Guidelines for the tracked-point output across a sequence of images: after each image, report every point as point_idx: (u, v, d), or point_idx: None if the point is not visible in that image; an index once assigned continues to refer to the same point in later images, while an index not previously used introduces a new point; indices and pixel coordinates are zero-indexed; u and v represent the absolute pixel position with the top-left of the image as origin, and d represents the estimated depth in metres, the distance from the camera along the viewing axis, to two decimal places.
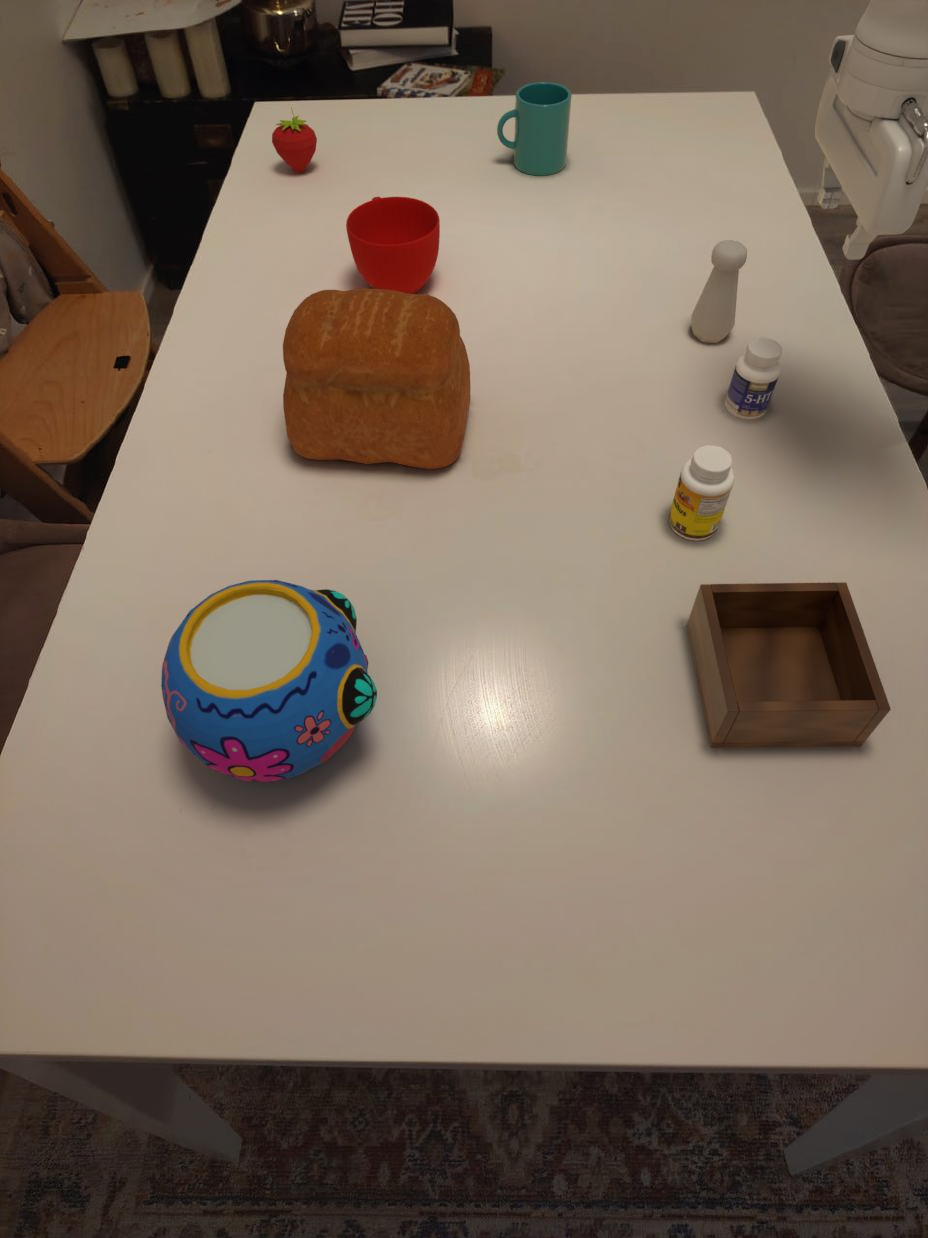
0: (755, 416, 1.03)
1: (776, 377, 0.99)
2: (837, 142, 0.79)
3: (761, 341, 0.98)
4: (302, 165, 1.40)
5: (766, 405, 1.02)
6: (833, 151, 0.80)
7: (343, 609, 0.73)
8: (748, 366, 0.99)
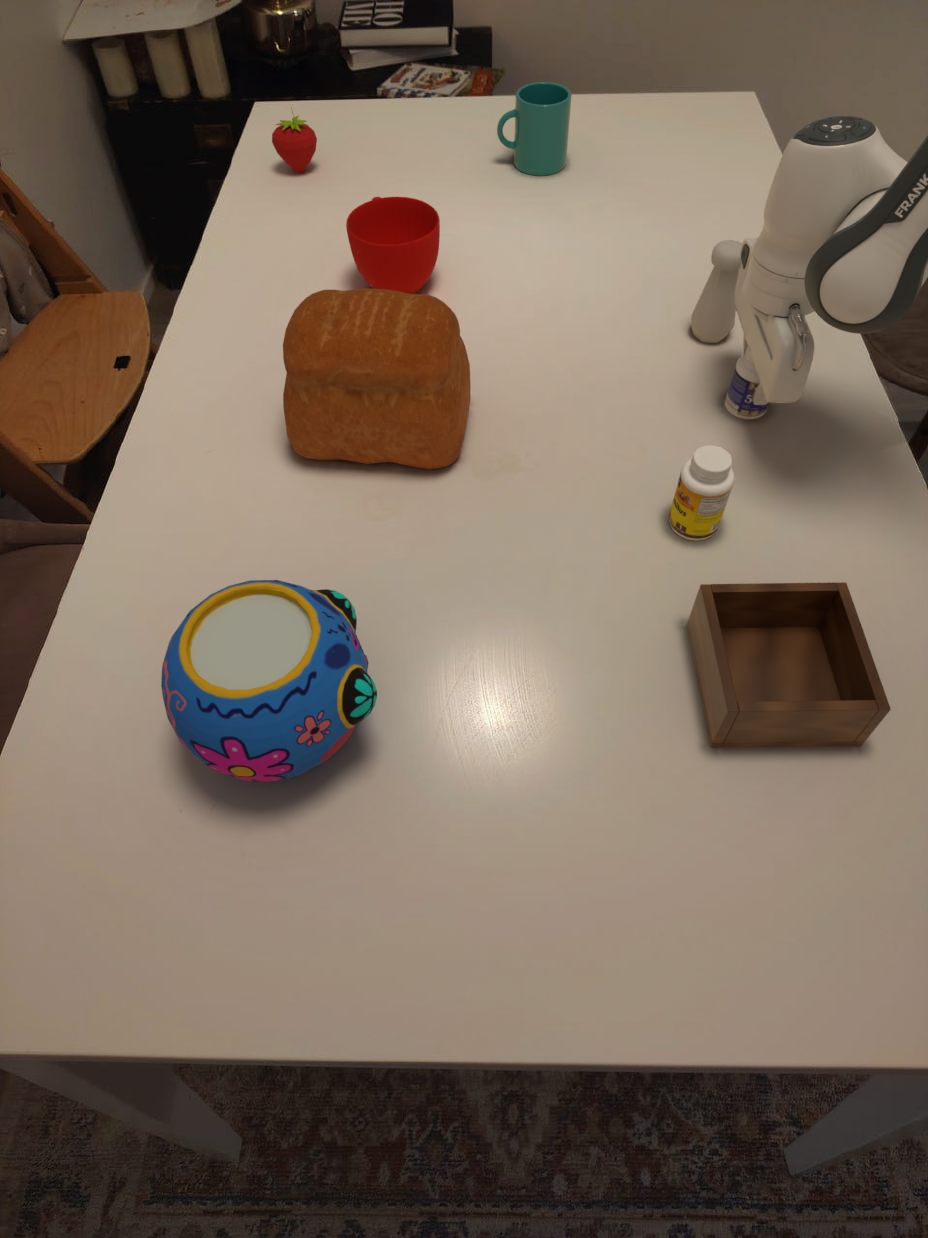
0: (755, 416, 1.03)
1: None
2: (748, 318, 0.98)
3: None
4: (302, 165, 1.40)
5: (766, 405, 1.02)
6: (746, 325, 0.99)
7: (343, 609, 0.73)
8: (748, 366, 0.99)
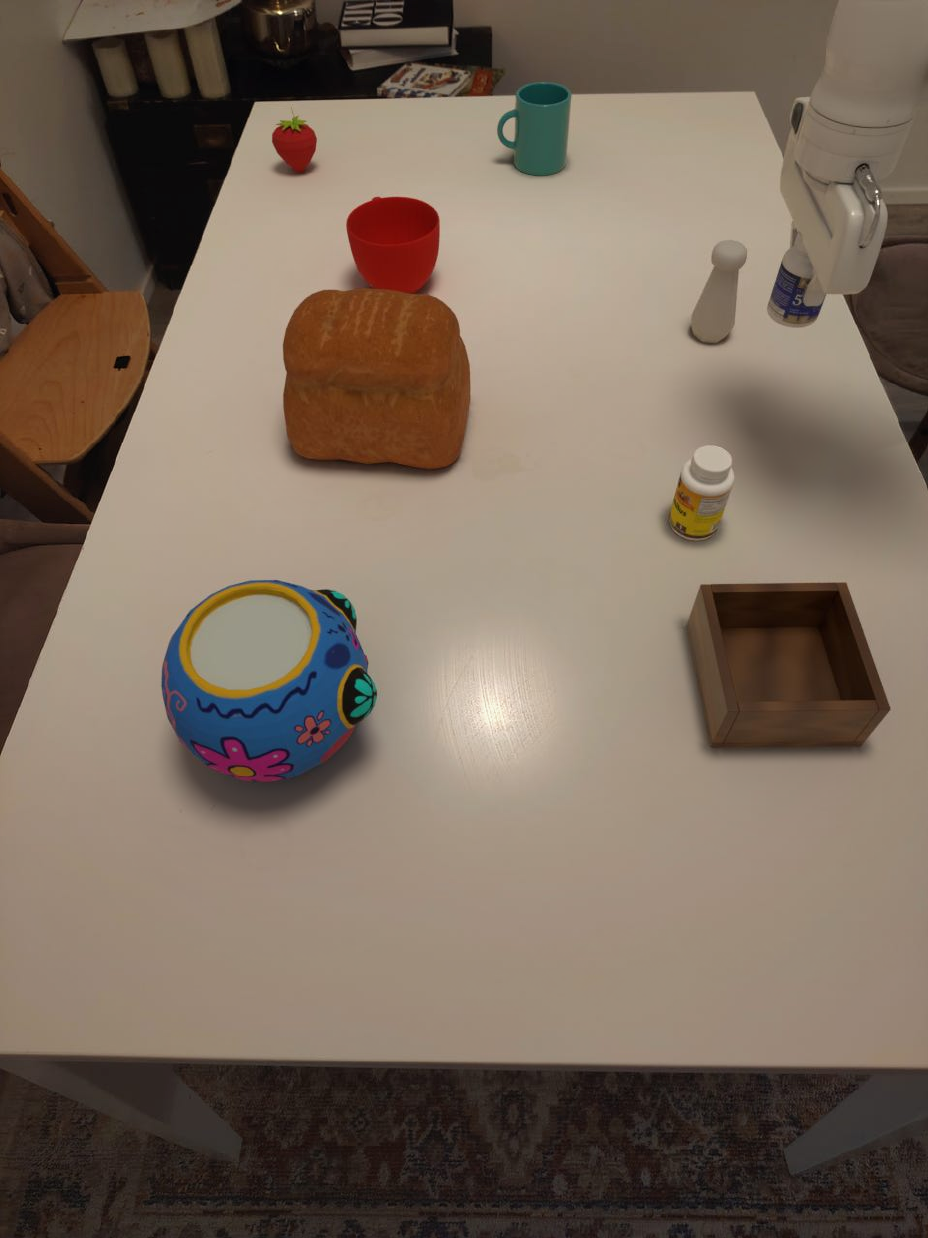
0: (804, 323, 0.85)
1: None
2: (799, 199, 0.81)
3: None
4: (302, 165, 1.40)
5: (818, 309, 0.85)
6: (795, 208, 0.81)
7: (343, 609, 0.73)
8: (797, 258, 0.81)
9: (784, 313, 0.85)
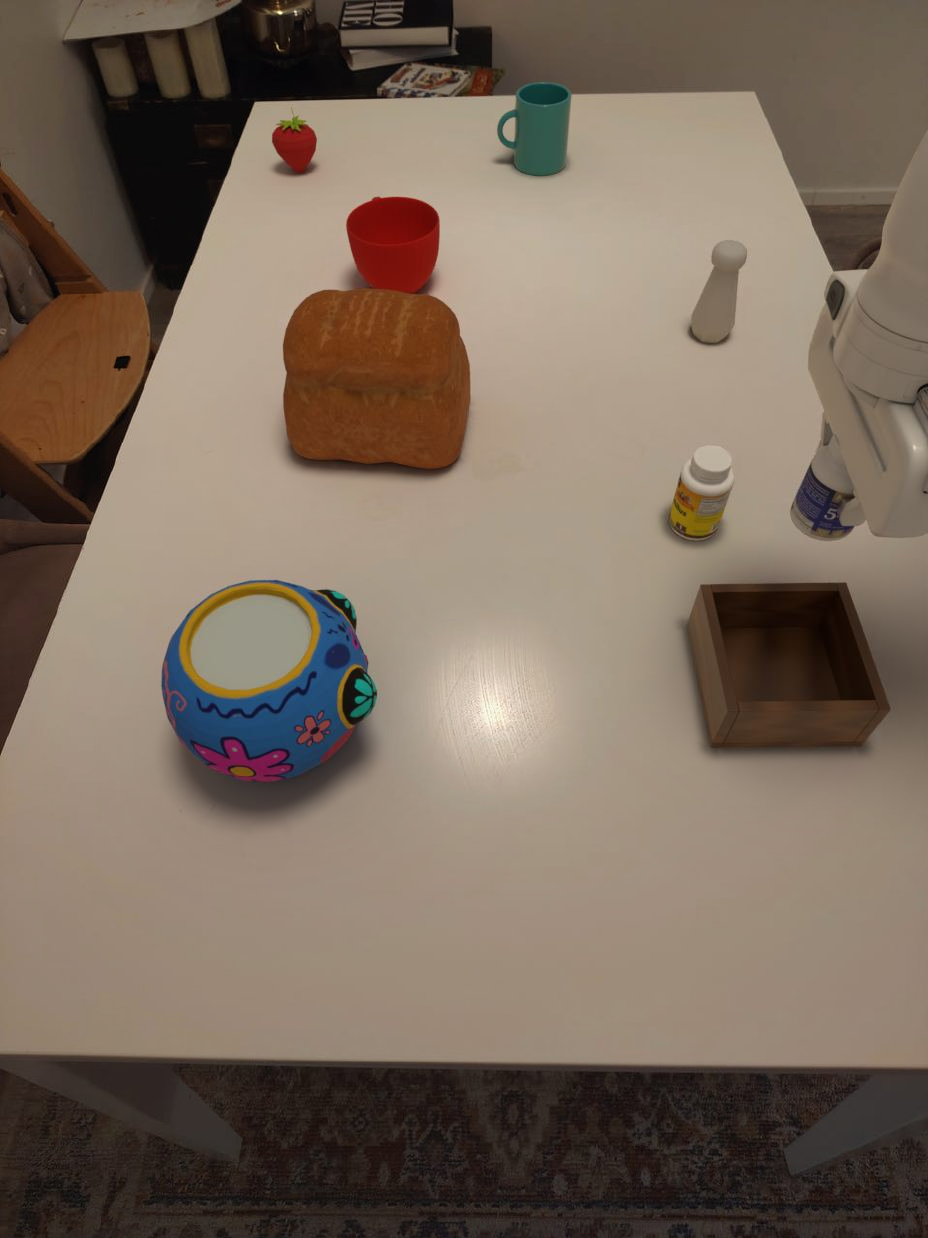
0: (838, 537, 0.68)
1: None
2: (835, 394, 0.63)
3: None
4: (302, 165, 1.40)
5: None
6: (830, 403, 0.64)
7: (343, 609, 0.73)
8: (832, 467, 0.64)
9: (813, 525, 0.67)
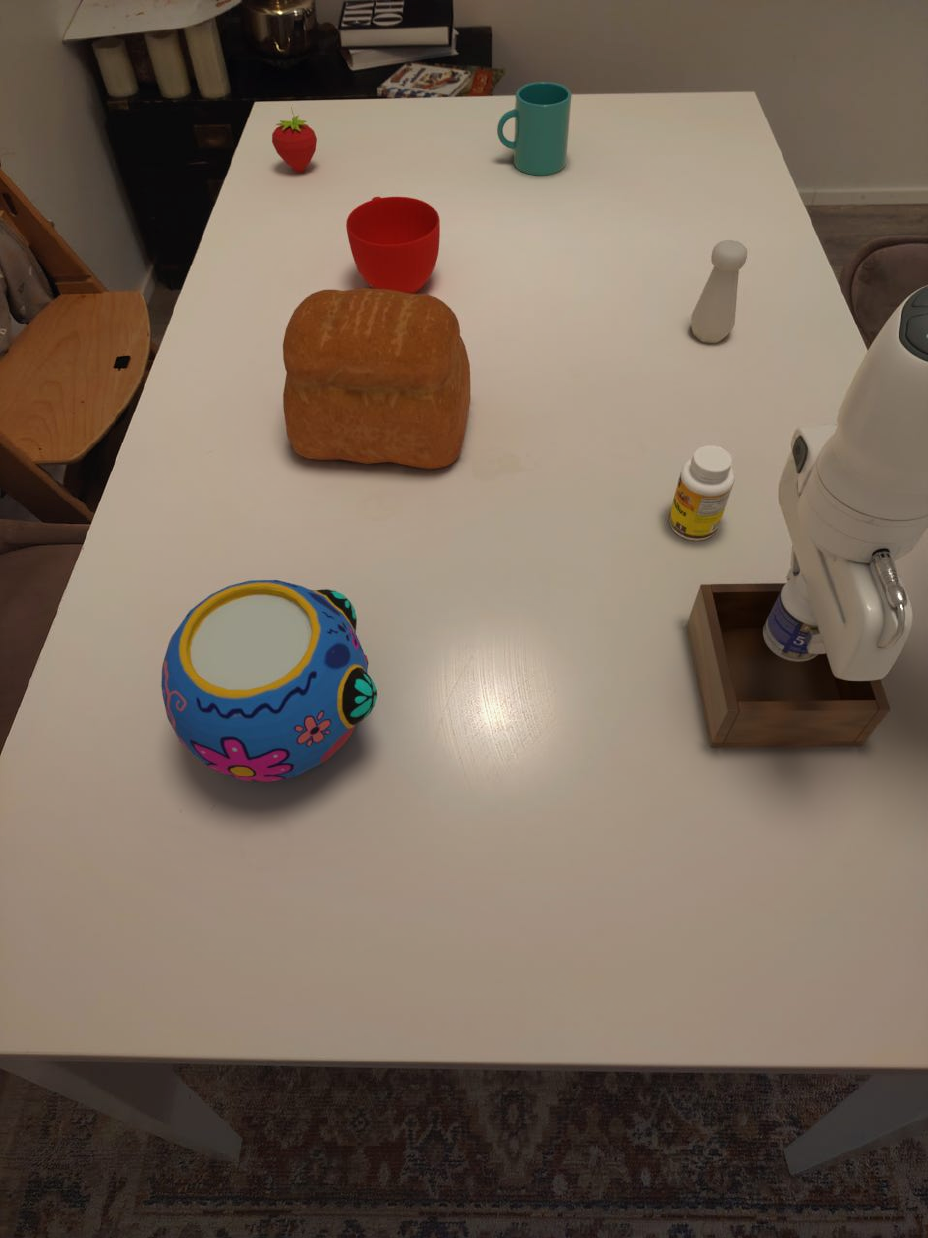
0: (807, 659, 0.73)
1: None
2: (801, 534, 0.68)
3: None
4: (302, 165, 1.40)
5: None
6: (798, 542, 0.69)
7: (343, 609, 0.73)
8: (799, 601, 0.69)
9: (783, 648, 0.72)
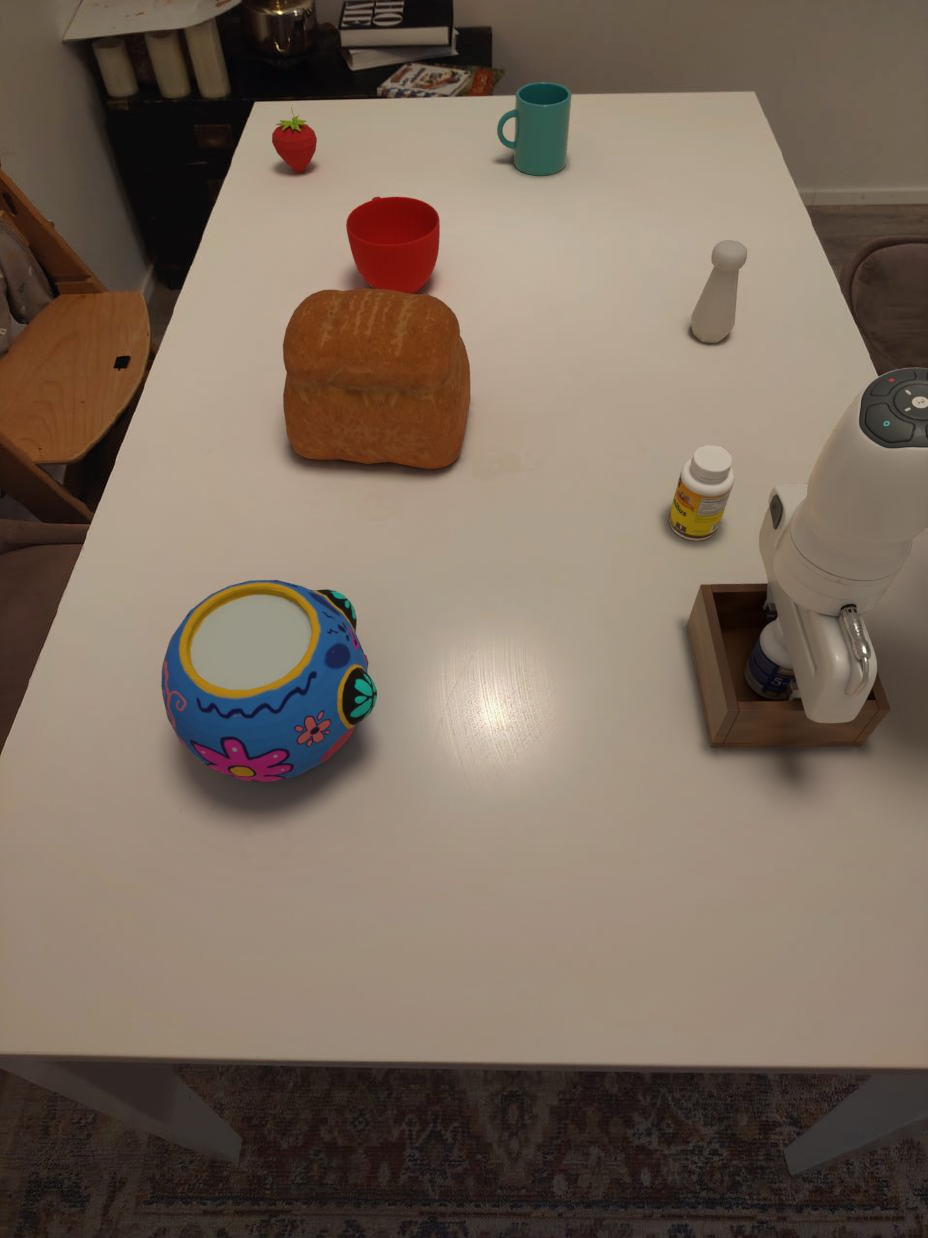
0: (785, 697, 0.78)
1: None
2: (779, 583, 0.73)
3: None
4: (302, 165, 1.40)
5: None
6: (776, 589, 0.74)
7: (343, 609, 0.73)
8: (776, 646, 0.74)
9: (762, 688, 0.78)
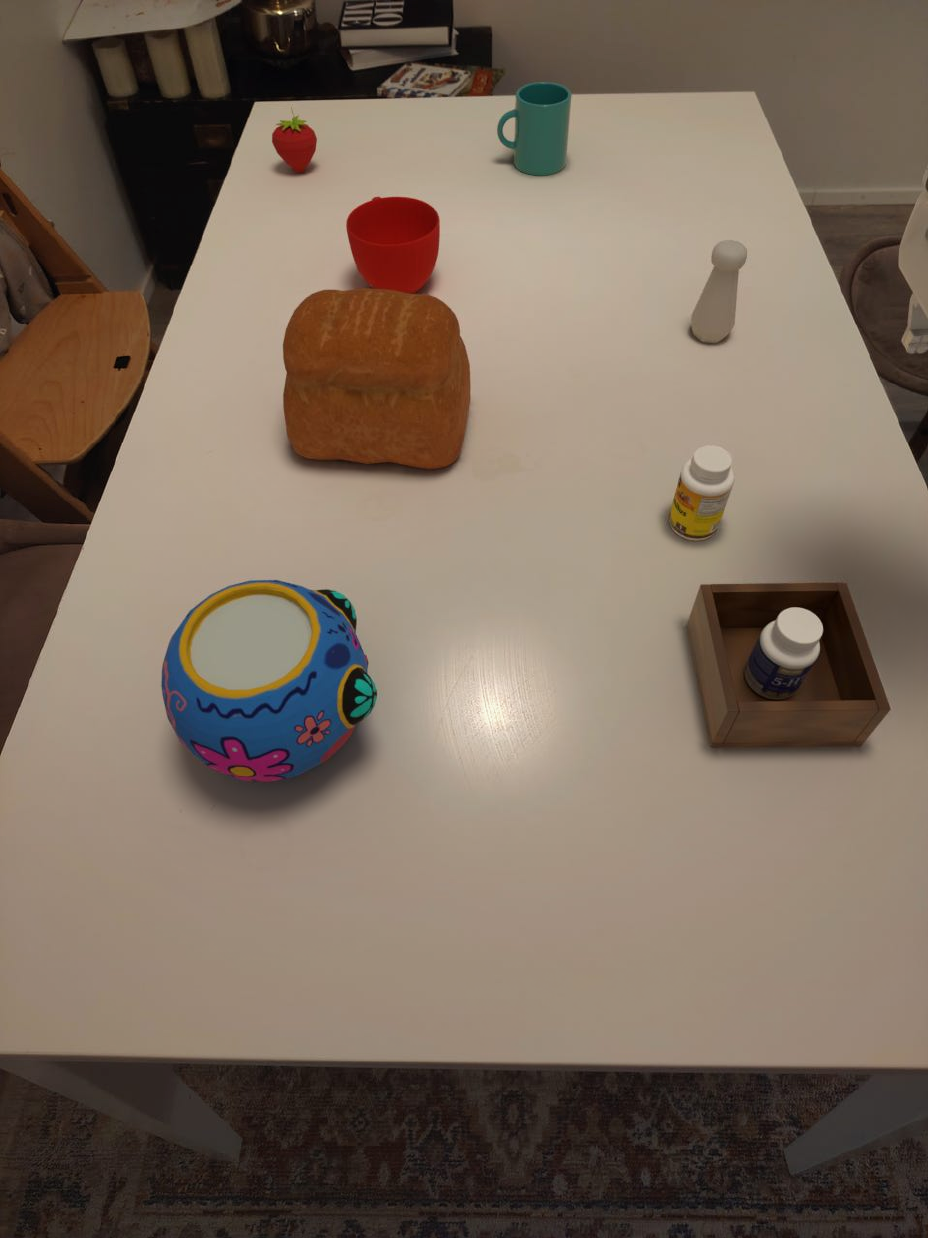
0: (785, 697, 0.78)
1: (814, 660, 0.74)
2: None
3: (794, 614, 0.74)
4: (302, 165, 1.40)
5: (799, 685, 0.77)
6: None
7: (343, 609, 0.73)
8: (776, 646, 0.74)
9: (762, 688, 0.78)
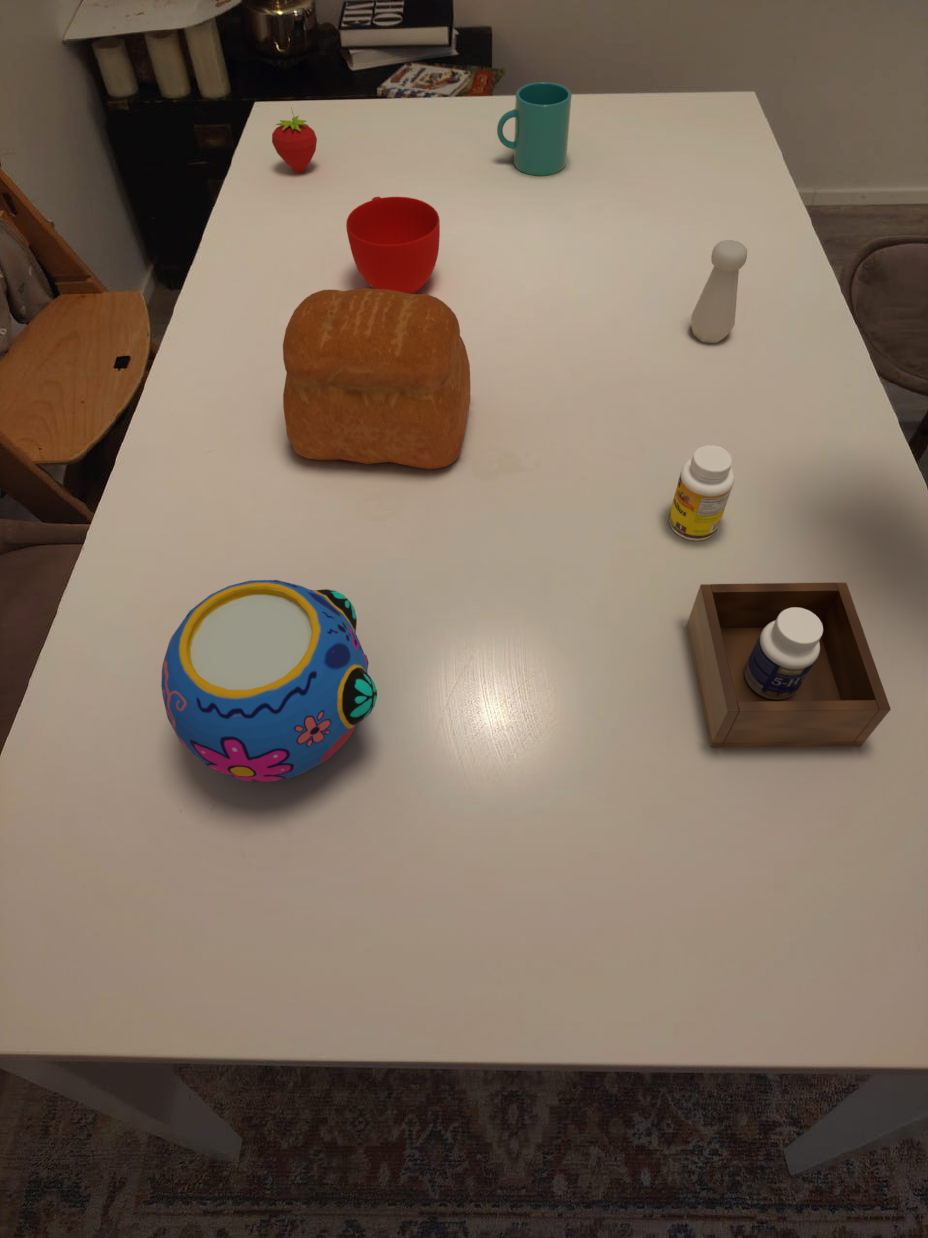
0: (785, 697, 0.78)
1: (814, 660, 0.74)
2: None
3: (794, 614, 0.74)
4: (302, 165, 1.40)
5: (799, 685, 0.77)
6: None
7: (343, 609, 0.73)
8: (776, 646, 0.74)
9: (762, 688, 0.78)
